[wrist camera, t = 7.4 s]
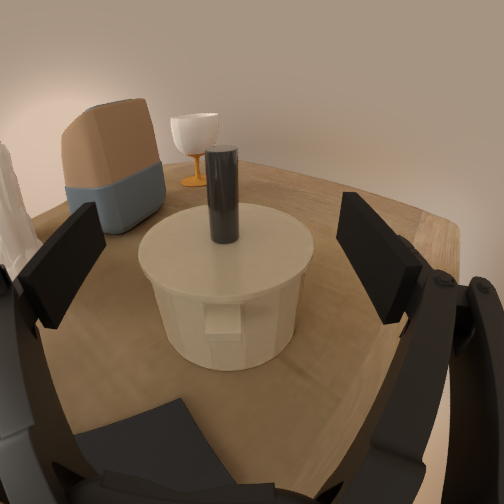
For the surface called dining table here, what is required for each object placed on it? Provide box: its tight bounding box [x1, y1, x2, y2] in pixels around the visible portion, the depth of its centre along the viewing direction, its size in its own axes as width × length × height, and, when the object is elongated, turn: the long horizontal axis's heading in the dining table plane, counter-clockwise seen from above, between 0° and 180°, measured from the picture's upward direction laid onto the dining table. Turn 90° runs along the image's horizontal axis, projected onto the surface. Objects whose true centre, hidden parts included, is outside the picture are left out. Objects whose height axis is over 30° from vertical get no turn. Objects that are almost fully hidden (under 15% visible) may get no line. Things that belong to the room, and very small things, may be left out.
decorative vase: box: [0, 142, 43, 282], centre depth 27 cm, size 11×11×25 cm
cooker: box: [151, 272, 305, 371], centre depth 28 cm, size 15×20×10 cm
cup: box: [170, 113, 219, 187], centre depth 65 cm, size 12×12×17 cm
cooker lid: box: [138, 145, 314, 303], centre depth 23 cm, size 16×16×9 cm
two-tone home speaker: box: [61, 98, 166, 234], centre depth 46 cm, size 17×17×23 cm
